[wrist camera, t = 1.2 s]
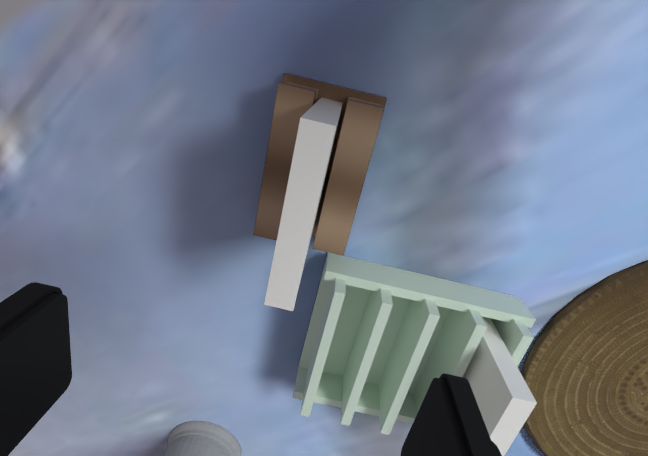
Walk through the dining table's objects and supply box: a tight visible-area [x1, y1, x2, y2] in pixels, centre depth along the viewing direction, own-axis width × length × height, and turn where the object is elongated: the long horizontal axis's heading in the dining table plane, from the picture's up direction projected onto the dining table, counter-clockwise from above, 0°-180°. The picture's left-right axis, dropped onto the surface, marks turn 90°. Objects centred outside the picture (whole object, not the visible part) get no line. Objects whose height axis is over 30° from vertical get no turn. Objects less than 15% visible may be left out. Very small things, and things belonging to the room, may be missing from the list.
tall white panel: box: [264, 97, 343, 311], centre depth 24 cm, size 10×2×12 cm, turn 167°
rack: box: [293, 252, 537, 456], centre depth 31 cm, size 14×17×11 cm
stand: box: [253, 73, 387, 256], centre depth 28 cm, size 12×8×4 cm, turn 167°
